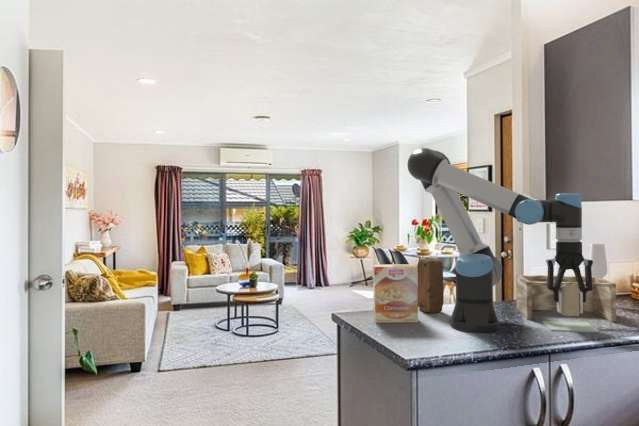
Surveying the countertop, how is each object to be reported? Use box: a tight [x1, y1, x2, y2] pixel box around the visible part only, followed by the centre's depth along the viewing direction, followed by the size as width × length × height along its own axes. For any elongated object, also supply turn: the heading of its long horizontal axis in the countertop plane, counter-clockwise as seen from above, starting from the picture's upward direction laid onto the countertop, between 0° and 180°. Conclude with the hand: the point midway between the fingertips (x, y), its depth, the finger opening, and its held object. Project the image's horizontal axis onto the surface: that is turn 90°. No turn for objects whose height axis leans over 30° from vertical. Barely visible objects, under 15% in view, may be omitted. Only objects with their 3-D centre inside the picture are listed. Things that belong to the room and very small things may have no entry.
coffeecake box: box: [372, 263, 419, 324], centre depth 166 cm, size 15×7×20 cm, turn 88°
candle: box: [560, 283, 580, 317], centre depth 154 cm, size 6×6×10 cm
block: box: [416, 257, 445, 314], centre depth 180 cm, size 11×8×20 cm
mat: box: [541, 320, 600, 334], centre depth 154 cm, size 14×11×1 cm
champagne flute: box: [588, 243, 609, 279], centre depth 188 cm, size 7×7×24 cm
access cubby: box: [515, 274, 617, 323], centre depth 171 cm, size 28×18×13 cm, turn 78°
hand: (569, 311), depth 154 cm, fingers closed on candle, 5 cm apart
